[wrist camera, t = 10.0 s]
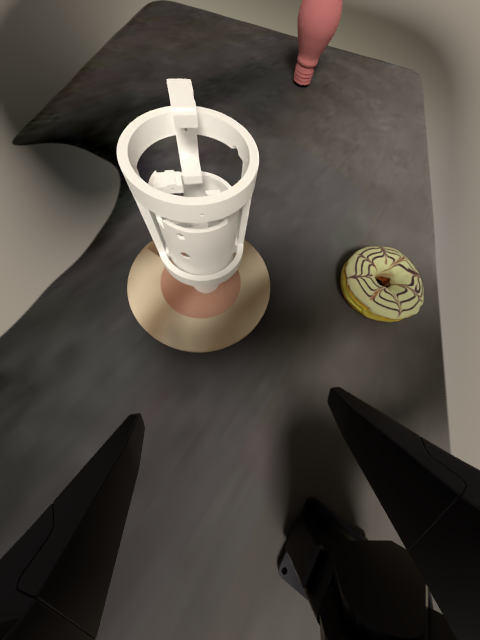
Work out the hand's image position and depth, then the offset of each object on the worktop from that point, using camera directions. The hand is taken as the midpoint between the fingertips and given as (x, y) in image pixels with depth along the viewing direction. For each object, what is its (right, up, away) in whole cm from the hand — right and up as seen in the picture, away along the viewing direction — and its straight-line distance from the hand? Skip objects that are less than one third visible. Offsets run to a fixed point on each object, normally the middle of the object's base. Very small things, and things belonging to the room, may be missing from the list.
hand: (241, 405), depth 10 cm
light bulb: (+13, +53, +34) cm, 64 cm away
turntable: (-5, +8, +15) cm, 18 cm away
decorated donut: (+18, +8, +20) cm, 28 cm away
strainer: (-4, +8, +14) cm, 17 cm away
